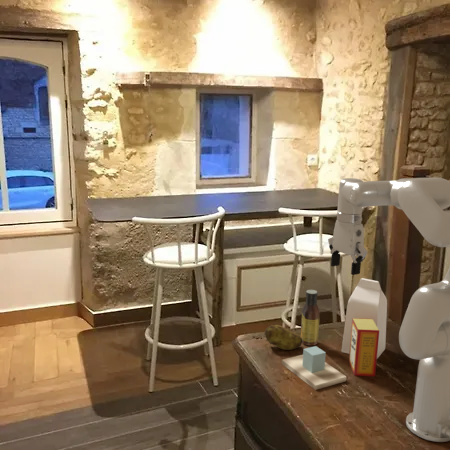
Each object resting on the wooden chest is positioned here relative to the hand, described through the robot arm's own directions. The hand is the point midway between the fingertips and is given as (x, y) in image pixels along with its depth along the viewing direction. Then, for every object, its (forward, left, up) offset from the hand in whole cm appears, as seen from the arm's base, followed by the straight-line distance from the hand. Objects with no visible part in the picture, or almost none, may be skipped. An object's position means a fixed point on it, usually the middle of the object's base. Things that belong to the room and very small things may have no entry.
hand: (345, 269), depth 166 cm
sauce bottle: (+16, 0, -32) cm, 36 cm away
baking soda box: (-7, -4, -33) cm, 33 cm away
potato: (+17, +11, -33) cm, 38 cm away
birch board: (-2, +12, -32) cm, 35 cm away
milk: (+3, -14, -33) cm, 36 cm away
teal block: (-2, +12, -31) cm, 33 cm away
